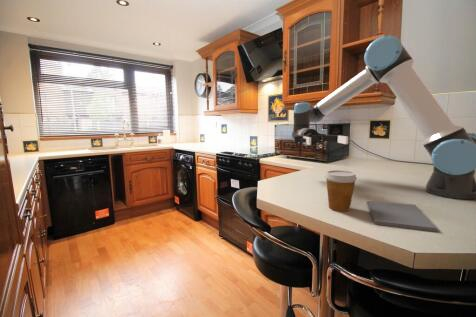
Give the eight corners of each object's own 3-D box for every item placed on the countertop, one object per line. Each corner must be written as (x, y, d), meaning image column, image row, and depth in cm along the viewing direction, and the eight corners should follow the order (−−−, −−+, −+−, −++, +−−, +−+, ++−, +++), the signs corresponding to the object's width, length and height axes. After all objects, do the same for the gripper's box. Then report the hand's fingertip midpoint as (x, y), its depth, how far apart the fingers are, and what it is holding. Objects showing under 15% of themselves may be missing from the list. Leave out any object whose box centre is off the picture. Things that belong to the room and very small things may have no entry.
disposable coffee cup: (353, 204, 81) (354, 170, 79) (357, 215, 72) (359, 177, 71) (323, 202, 84) (324, 169, 83) (324, 212, 75) (325, 175, 74)
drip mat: (415, 207, 77) (415, 205, 77) (436, 231, 61) (437, 228, 60) (366, 203, 82) (366, 200, 82) (374, 224, 66) (374, 220, 66)
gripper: (335, 144, 107) (361, 150, 86) (280, 146, 106) (294, 152, 85) (335, 127, 106) (363, 129, 85) (280, 129, 104) (294, 131, 83)
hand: (328, 140), depth 85 cm, fingers open, 13 cm apart
